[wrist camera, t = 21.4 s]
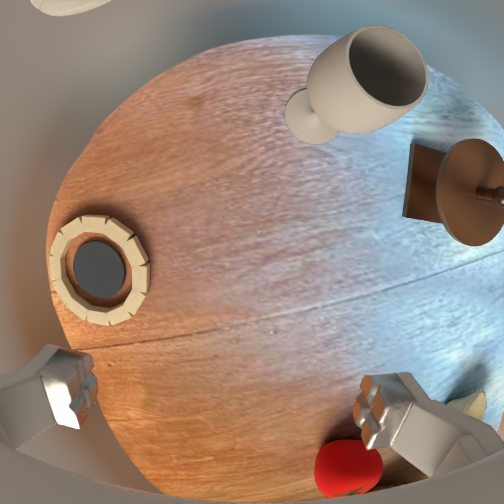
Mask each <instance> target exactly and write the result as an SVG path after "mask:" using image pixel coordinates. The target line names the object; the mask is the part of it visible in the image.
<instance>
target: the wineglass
mask: <svg viewBox="0 0 504 504" xmlns="http://www.w3.org/2000/svg"><path fill="white" fill-rule="evenodd" d="M306 87H307V89H305V90H302V91H299V92H298V93H296V94H295V95H293V96H292V98H291V99H290V100H289V101H288V104H287V106H286V109H285V121H286V124H287V126H288V128H289V130H290V131H291V133H292V134H293V135H294V136H295V137H296V138H297V139H299V140H301V141H302V142H305V143H308V144H315V145H317V144H324V143H326V142H328V141H330V140H332V139H333V138H334V137H335V136H336V135H337V134H338V132H339V131H341V132H345V133H352V134H361V133H369V132H373V131H376V130H379V129H381V128H383V127H385V126H387V125H389V124H391V123H393V122H394V121H396V120H397V119H399V118H400V117H402V116H403V115H404V114H406V113H407V112H408V111H410V110H411V109H412V108H414V107H415V106H416V105H417V104H418V103H419V102H420V101H421V100H422V98H423V97H424V95H425V93H426V90H427V87H428V71H427V66H426V64H425V61H424V59H423V57H422V55H421V53H420V52H419V50H418V49H417V47H416V46H415V45H414V44H413V43H412V42H411V41H410V40H409V39H408V38H407V37H405V36H404V35H403V34H402V33H400V32H398V31H396V30H394V29H392V28H389V27H385V26H379V25H371V26H366V27H362V28H360V29H357V30H355V31H354V32H351V33H350V34H348V35H346V36H344V37H342V38H341V39H339V40H337V41H336V42H334V43H333V44H332V45H330V46H329V47H328V48H326V49H325V50H324V51H323V52H322V53H321V54H320V55H319V56H318V57H317V59H316V60H315V61H314V63H313V65H312V67H311V69H310V71H309V74H308V78H307V84H306Z"/></svg>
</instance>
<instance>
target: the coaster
mask: <svg viewBox="0 0 504 504" xmlns="http://www.w3.org/2000/svg"><path fill="white" fill-rule="evenodd" d="M73 270H74V275H75V278H76V280H77V282H78V284H79V285H80V286H81V288H82V289H83V290H84V291H85V292H87V293H88V294H90V295H92V296H94V297H97V298H108V297H111V296H113V295H115V294H116V293H117V292H118V291H119V290H120V289H121V288H122V286H123V284H124V281H125V274H126V272H125V265H124V262H123V260H122V257H121V256H120V254H119V253H118V251H117V250H116V249H115V248H114V247H112V246H111V245H109V244H108V243H105V242H102V241H90V242H88V243H86V244H84V245H82V246H81V247H80V248H79V249H78V251H77V252H76V254H75V257H74V261H73Z"/></svg>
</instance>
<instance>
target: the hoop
mask: <svg viewBox="0 0 504 504" xmlns="http://www.w3.org/2000/svg"><path fill="white" fill-rule="evenodd" d="M83 232H96V233H104V234H105V235H106V236H108V237H109V238H111V239H112V240H113V241H115V242H116V243H117V244H119V245H120V246H121V247H122V249H123V251H124V253H125V255H126V257H127V258H128V260H129V262H130V264H131V266H132V290H131V292H130V294H129V295H128V297H127V299H126V300H125V302H123V303H121V304H119V305H116V306H114V307H112V308H105V307H98V306H92V305H91V304H89V303H88V302H87V301H85V300H84V299H83V298H81V297H80V296H79V295H77V294H76V292H75V290H74V289H73V287H72V285H71V283H70V281H69V279H68V277H67V276H66V261H65V255H66V253H67V251H68V248H69V246H70V244H71V242H72V240H73V238H75V237H77V236H78V235H80V234H82V233H83ZM133 233H134V232H133V231H132V230H130V229H129V228H127V227H126V226H125V225H123V224H122V223H120V222H119V221H118V220H116V219H115V218H114V217H113V218H110V216H104V215H89V214H87V215H83V216H80V217H78V218H76V219H74V220H73V221H71V222H70V223H68V224H67V225H65V226H64V227H62V228H61V230H60V231H58V233H57V235H56V237H55V240H54V242H53V244H52V247H51V249H50V251H49V252H50V253H51V255H49V264H50V276H51V279H54V280H55V281H53V282H52V284H53V286H54V288H55V289H56V291H57V293H58V295H59V297H60V299H61V300H62V302H63V304H64V303H66V302H68V303H67V305H66V307H67V308H68V309H70V310H71V311H72V312H74V313H75V314H76V315H78V316H79V317H80V318H82V319H83V320H86V318H87V321H88V322H90V323H96V324H101V325H107V326H109V325H110V324H112V325H115V324H117V323H120V322H122V321H124V320H127V319H129V318H131V317H132V316H133V315H135V313H136V312H137V310H138V309H139V307H140V305H141V304H142V302H143V300H144V299H145V297H146V296H147V294H148V290H149V289H150V263H146V262H147V261H148V260H149V259H148V257H147V255H146V253H145V251H144V249H143V247H142V245H141V243H140V241H139V239H138V237H137V236H134V237H132V235H133ZM131 237H132V238H131Z"/></svg>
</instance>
